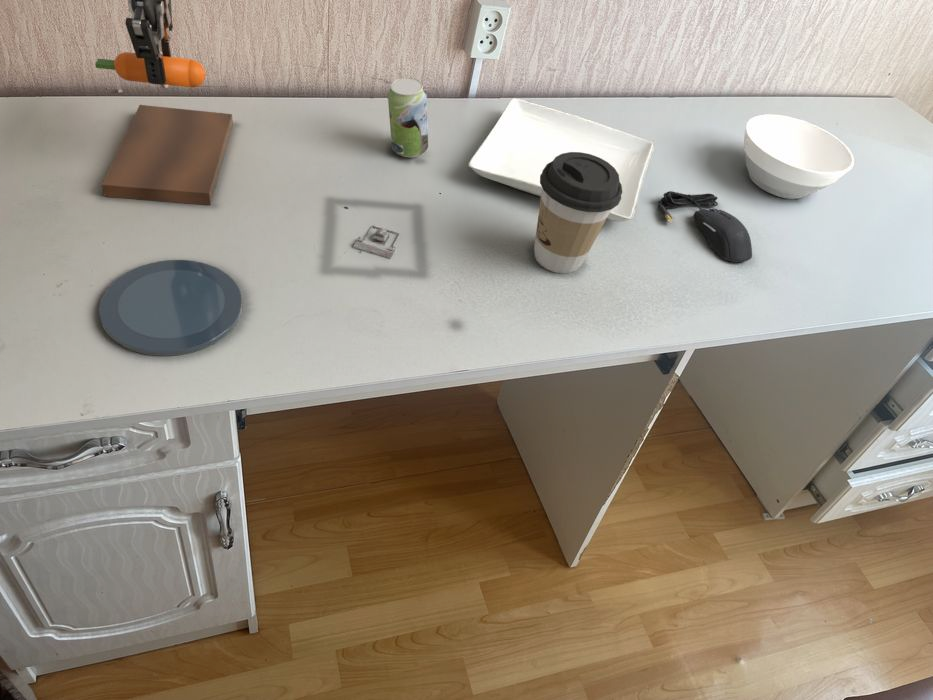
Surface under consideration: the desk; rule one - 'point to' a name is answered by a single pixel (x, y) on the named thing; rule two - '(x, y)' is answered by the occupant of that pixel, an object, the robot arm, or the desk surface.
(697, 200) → the computer mouse
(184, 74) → the carrot
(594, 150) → the square plate
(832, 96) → the desk surface
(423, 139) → the beverage can
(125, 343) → the slate plate
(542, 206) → the coffee cup
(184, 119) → the cutting board
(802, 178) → the bowl
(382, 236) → the metal mounting bracket
